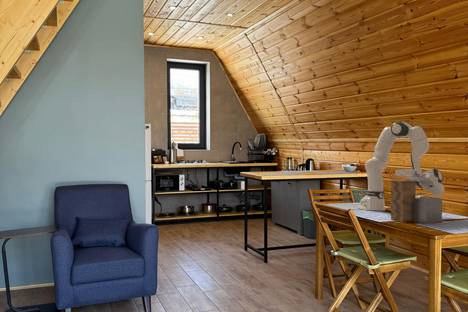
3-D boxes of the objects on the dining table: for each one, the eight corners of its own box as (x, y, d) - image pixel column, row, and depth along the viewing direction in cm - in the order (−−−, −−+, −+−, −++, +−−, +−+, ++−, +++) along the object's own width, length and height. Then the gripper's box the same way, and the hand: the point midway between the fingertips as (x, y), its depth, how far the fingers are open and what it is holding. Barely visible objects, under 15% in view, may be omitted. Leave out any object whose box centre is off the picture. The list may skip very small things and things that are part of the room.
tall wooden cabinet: (389, 219, 288) (390, 180, 288) (403, 218, 293) (403, 179, 293) (402, 222, 278) (403, 181, 278) (416, 220, 284) (416, 180, 283)
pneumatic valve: (421, 211, 321) (421, 195, 321) (412, 209, 333) (412, 193, 332) (428, 211, 322) (428, 195, 322) (419, 209, 334) (419, 193, 333)
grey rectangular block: (395, 175, 285) (395, 169, 284) (417, 174, 293) (417, 169, 293) (399, 175, 281) (399, 170, 281) (421, 174, 290) (421, 169, 290)
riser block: (413, 221, 281) (413, 198, 281) (428, 219, 287) (429, 196, 287) (426, 224, 272) (426, 199, 271) (441, 222, 278) (442, 198, 277)
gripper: (415, 175, 304) (402, 166, 299) (440, 178, 286) (427, 168, 280) (411, 184, 303) (399, 174, 298) (436, 186, 285) (423, 176, 279)
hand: (413, 171), depth 289 cm, fingers closed on grey rectangular block, 3 cm apart
